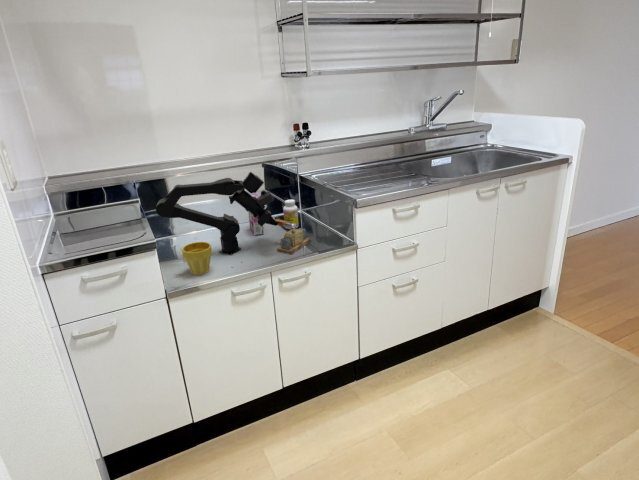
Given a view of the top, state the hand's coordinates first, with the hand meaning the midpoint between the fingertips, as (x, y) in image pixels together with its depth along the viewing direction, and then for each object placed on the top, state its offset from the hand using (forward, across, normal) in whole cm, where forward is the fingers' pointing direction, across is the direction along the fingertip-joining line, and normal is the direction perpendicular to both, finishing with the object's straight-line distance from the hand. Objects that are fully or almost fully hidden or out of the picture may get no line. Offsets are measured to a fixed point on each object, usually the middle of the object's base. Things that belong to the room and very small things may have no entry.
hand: (276, 224), depth 170 cm
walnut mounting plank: (+10, -5, +2) cm, 12 cm away
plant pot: (-16, -15, +30) cm, 37 cm away
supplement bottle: (+13, +18, -1) cm, 23 cm away
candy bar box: (+2, +19, +11) cm, 22 cm away
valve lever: (+3, -2, -2) cm, 4 cm away
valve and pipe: (+9, -5, +1) cm, 11 cm away
